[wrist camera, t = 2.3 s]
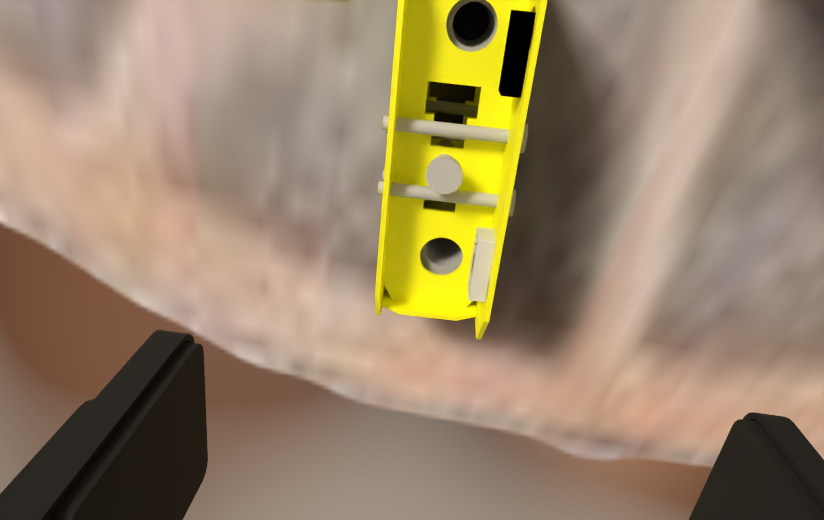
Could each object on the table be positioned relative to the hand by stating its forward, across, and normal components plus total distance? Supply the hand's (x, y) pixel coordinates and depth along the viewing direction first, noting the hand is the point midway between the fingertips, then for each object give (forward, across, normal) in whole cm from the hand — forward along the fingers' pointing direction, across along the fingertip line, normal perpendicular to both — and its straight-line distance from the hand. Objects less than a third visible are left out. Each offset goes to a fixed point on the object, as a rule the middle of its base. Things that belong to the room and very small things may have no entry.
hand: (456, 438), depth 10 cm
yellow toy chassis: (+21, 0, -1) cm, 21 cm away
